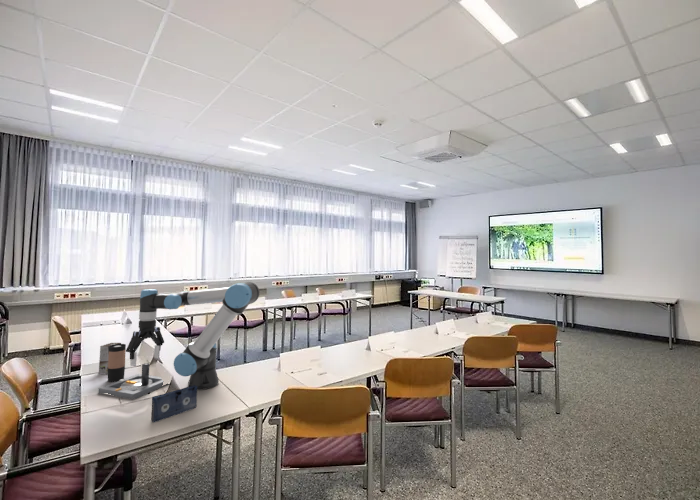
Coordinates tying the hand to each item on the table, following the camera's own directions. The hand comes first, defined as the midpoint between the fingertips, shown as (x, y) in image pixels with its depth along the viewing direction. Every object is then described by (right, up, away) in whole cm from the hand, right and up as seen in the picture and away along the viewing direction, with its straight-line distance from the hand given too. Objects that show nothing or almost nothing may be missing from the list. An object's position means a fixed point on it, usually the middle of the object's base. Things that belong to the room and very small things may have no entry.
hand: (145, 361), depth 166 cm
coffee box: (-39, -16, +28) cm, 51 cm away
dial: (-5, -14, +1) cm, 15 cm away
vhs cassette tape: (+27, -15, -23) cm, 39 cm away
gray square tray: (-5, -15, +1) cm, 16 cm away
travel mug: (-23, -15, +11) cm, 30 cm away
